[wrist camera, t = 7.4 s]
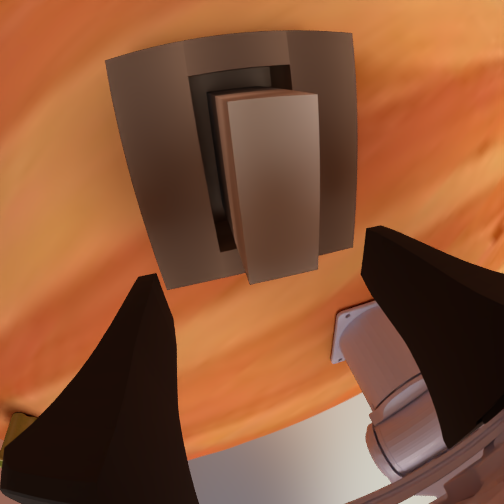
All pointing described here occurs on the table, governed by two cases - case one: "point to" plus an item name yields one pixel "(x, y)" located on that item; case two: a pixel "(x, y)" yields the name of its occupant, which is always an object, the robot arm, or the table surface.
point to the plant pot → (15, 429)
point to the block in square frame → (201, 142)
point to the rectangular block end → (269, 176)
